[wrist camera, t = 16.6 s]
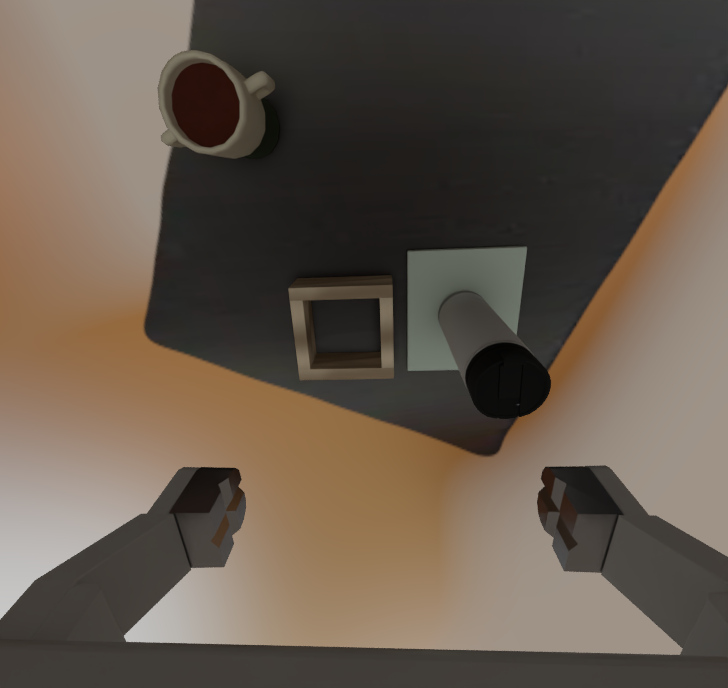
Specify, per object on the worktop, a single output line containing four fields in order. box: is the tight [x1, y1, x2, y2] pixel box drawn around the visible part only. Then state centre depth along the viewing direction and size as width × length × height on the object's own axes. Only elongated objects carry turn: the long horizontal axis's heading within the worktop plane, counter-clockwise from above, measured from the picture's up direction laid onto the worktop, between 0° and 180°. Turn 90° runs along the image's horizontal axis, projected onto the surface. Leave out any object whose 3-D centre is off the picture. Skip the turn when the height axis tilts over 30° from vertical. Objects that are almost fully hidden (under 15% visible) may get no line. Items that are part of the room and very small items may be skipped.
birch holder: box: [288, 275, 394, 380], centre depth 48 cm, size 12×12×5 cm
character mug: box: [158, 50, 279, 159], centre depth 36 cm, size 11×7×13 cm, turn 116°
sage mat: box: [407, 246, 527, 371], centre depth 48 cm, size 16×14×1 cm
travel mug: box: [438, 291, 551, 419], centre depth 38 cm, size 6×7×20 cm
